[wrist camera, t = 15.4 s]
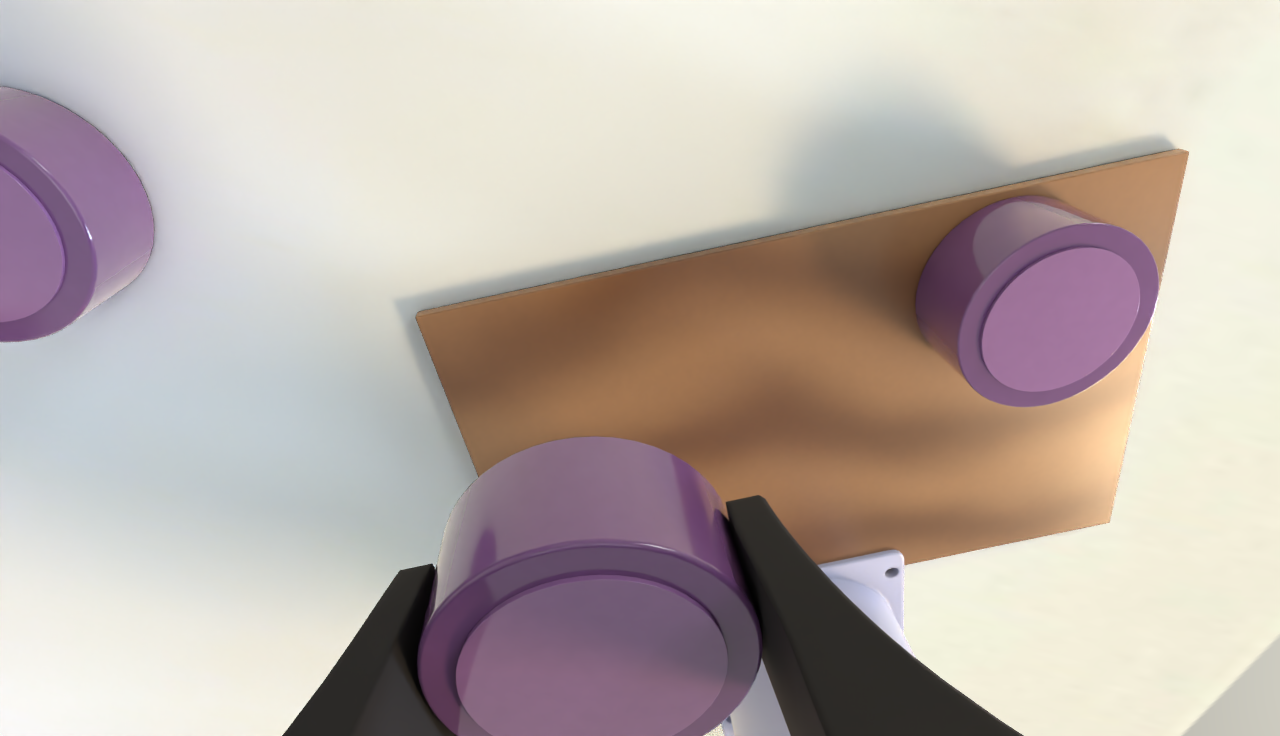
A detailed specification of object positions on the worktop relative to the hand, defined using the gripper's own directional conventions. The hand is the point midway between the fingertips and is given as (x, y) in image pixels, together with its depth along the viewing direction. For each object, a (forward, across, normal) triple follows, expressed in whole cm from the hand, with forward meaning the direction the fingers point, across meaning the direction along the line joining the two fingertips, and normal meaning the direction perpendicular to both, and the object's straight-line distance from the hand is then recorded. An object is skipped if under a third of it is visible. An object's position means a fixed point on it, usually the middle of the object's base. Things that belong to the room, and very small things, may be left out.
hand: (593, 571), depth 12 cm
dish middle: (0, 0, 0) cm, 1 cm away
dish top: (+9, -13, +1) cm, 15 cm away
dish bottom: (+9, +12, -7) cm, 17 cm away
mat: (+9, -7, +5) cm, 12 cm away
